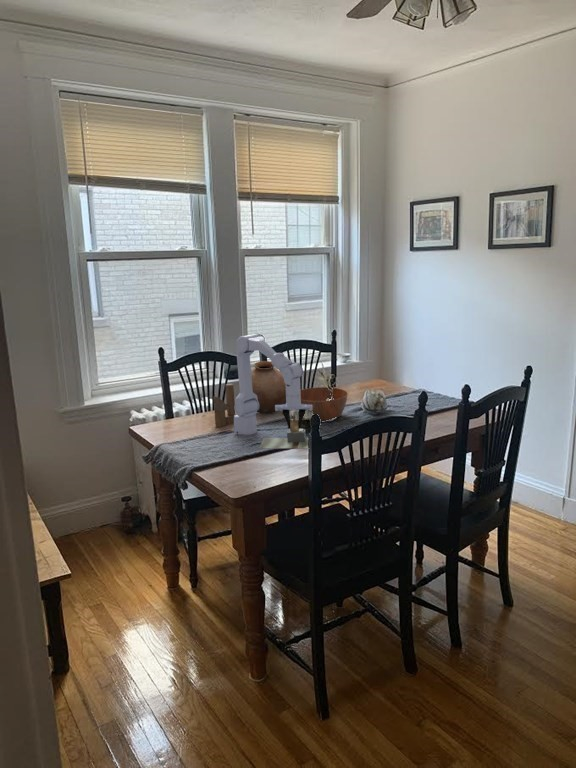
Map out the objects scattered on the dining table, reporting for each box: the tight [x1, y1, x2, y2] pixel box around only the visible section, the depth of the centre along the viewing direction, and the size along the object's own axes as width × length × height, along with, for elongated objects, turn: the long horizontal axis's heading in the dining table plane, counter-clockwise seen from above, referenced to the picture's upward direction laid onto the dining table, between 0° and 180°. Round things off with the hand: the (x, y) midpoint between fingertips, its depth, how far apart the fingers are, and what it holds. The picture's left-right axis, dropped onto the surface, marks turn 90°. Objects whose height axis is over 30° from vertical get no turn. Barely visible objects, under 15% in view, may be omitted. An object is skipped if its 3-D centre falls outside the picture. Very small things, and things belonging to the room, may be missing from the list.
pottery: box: [251, 360, 286, 415], centre depth 273 cm, size 23×23×25 cm
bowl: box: [300, 386, 349, 423], centre depth 263 cm, size 25×25×11 cm
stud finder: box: [286, 428, 307, 442], centre depth 231 cm, size 7×4×4 cm, turn 84°
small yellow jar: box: [290, 414, 299, 434], centre depth 224 cm, size 4×4×7 cm
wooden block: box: [212, 383, 237, 428], centre depth 259 cm, size 4×11×18 cm, turn 140°
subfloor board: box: [259, 437, 309, 449], centre depth 229 cm, size 20×12×1 cm, turn 84°
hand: (294, 427), depth 224 cm, fingers closed on small yellow jar, 4 cm apart
